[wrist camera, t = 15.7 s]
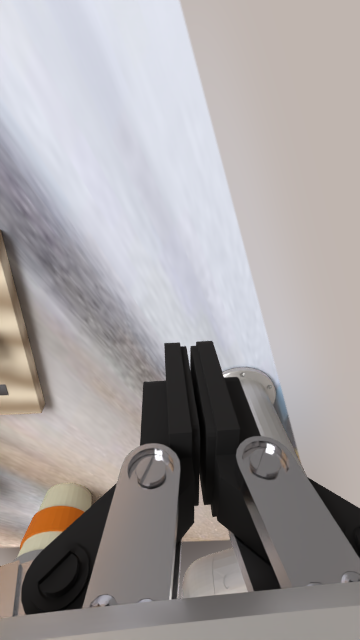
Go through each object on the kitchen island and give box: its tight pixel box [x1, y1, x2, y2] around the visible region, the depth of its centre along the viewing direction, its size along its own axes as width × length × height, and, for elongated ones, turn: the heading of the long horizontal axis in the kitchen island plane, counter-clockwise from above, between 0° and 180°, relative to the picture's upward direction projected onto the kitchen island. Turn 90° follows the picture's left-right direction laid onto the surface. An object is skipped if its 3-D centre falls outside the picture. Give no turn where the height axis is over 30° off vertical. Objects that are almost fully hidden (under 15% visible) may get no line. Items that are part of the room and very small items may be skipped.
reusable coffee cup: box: [14, 483, 92, 564], centre depth 56 cm, size 12×13×15 cm
